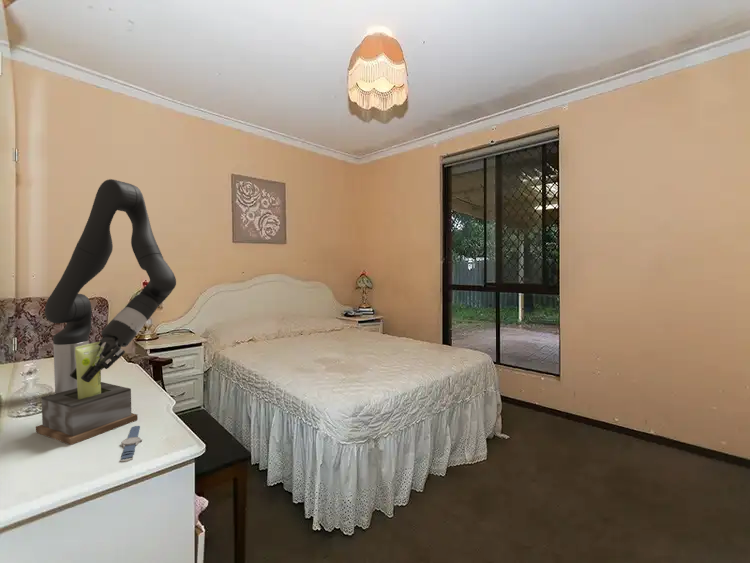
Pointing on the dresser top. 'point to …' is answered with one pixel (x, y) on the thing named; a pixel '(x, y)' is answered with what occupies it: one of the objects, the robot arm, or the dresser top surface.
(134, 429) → the wristwatch
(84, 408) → the socket
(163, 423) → the dresser top surface
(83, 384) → the tube
